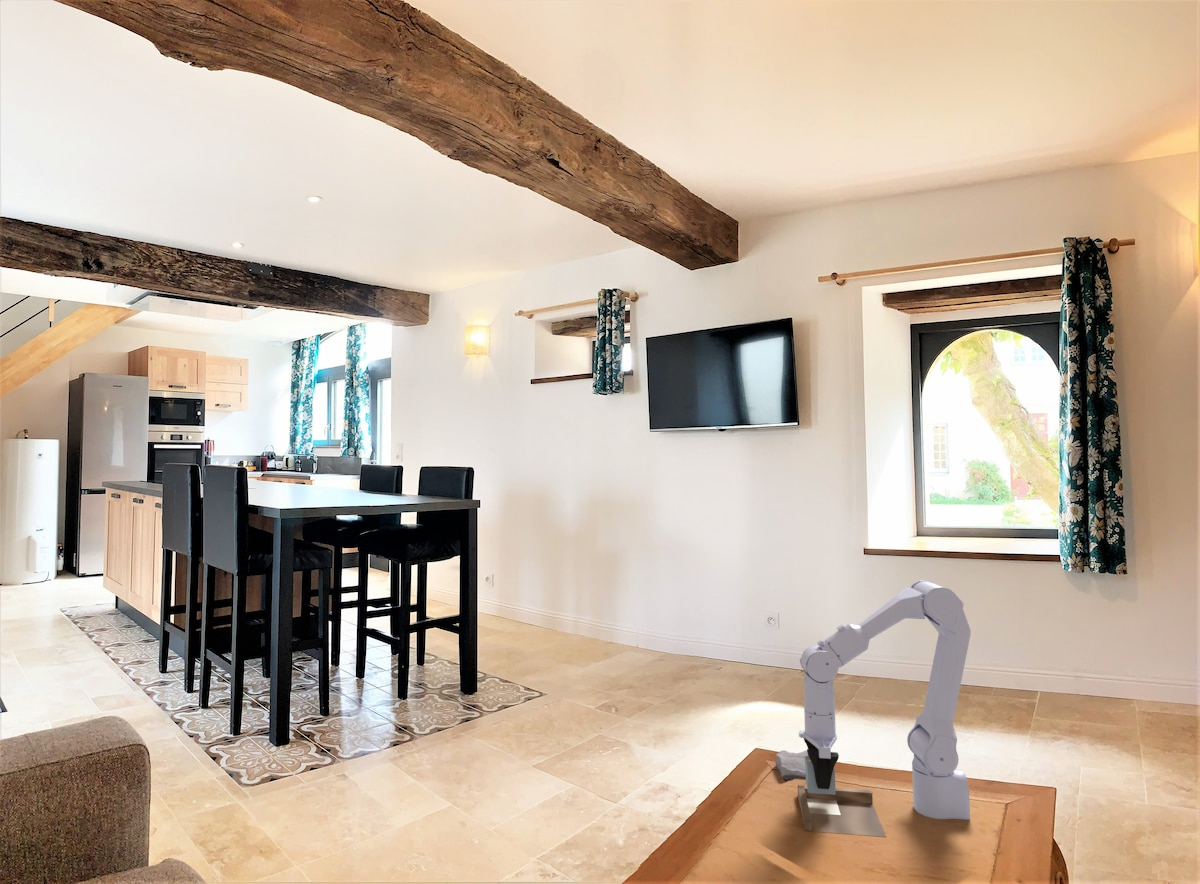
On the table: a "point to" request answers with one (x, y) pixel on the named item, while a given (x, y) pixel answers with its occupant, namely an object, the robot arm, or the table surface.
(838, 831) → the tray
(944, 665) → the robot arm
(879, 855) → the table surface
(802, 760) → the stone block
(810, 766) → the cube
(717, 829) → the table surface
